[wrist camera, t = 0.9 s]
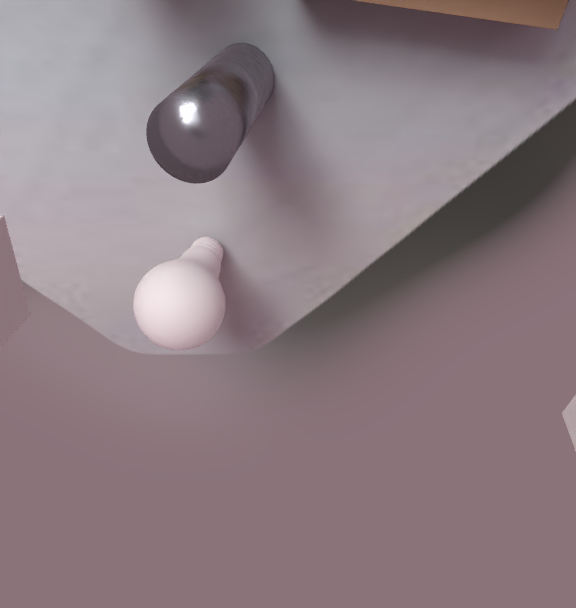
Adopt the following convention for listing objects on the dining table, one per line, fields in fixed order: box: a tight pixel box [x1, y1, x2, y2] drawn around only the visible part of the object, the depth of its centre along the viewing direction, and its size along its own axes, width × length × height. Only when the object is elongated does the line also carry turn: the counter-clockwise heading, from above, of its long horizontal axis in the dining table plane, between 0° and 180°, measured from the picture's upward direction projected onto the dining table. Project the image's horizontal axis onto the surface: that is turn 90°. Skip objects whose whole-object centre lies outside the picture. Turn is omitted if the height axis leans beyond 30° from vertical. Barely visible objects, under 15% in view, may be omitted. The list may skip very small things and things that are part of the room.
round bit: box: [147, 43, 274, 183], centre depth 28 cm, size 4×4×12 cm
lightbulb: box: [133, 237, 226, 350], centre depth 36 cm, size 6×6×11 cm
